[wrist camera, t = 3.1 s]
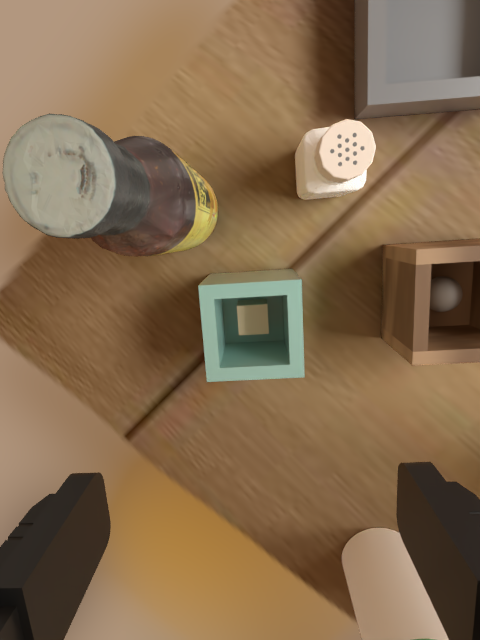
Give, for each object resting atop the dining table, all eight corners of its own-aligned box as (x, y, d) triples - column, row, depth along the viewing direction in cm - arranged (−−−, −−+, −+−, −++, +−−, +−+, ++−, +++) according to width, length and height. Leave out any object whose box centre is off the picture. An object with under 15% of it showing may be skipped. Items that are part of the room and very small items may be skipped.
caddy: (508, -59, 27) (545, -101, 24) (496, 107, 30) (528, 92, 26) (354, -43, 28) (369, -82, 24) (354, 119, 30) (367, 105, 27)
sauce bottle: (235, 203, 32) (204, 168, 13) (191, 264, 33) (102, 315, 14) (170, 151, 31) (33, 31, 12) (127, 216, 33) (-58, 200, 13)
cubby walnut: (482, 238, 32) (543, 241, 25) (475, 333, 34) (531, 359, 27) (382, 244, 32) (416, 249, 26) (381, 338, 34) (412, 365, 27)
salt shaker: (296, 200, 32) (312, 190, 23) (293, 148, 31) (310, 114, 22) (346, 196, 32) (383, 183, 22) (344, 143, 31) (383, 107, 22)
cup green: (292, 268, 33) (301, 279, 26) (295, 347, 35) (304, 377, 28) (209, 273, 34) (198, 285, 27) (216, 351, 35) (206, 381, 28)
